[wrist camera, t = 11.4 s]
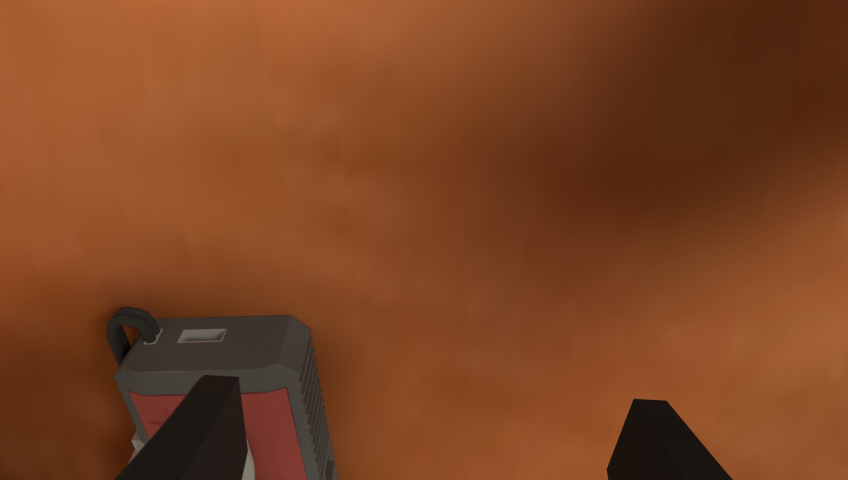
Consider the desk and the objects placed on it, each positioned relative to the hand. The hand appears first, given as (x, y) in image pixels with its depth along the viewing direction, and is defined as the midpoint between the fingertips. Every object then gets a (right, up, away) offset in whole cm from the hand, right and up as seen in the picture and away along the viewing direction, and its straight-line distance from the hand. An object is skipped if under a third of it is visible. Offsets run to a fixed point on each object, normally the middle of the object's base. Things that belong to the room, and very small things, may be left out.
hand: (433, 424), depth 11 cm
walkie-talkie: (-8, -6, +16) cm, 19 cm away
